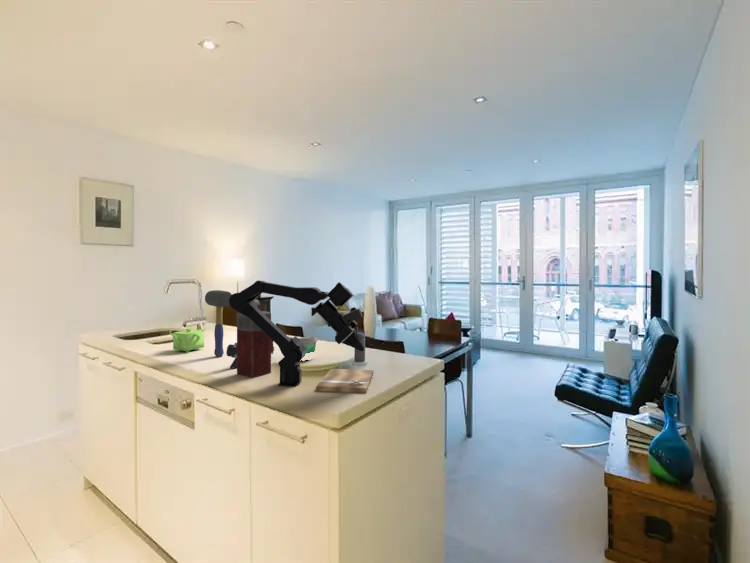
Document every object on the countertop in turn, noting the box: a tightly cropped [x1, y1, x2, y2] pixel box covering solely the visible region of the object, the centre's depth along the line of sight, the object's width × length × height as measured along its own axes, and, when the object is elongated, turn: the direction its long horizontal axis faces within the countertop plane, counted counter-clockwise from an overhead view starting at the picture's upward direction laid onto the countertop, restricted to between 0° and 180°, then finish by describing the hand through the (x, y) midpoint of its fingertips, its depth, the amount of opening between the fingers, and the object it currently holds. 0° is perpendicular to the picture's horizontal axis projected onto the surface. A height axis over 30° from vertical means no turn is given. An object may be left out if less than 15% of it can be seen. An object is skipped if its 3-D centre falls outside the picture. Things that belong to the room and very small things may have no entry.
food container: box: [290, 336, 318, 353], centre depth 170 cm, size 12×6×10 cm, turn 105°
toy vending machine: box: [236, 299, 274, 379], centre depth 148 cm, size 9×11×28 cm
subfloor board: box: [315, 368, 375, 394], centre depth 137 cm, size 16×23×2 cm
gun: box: [225, 342, 275, 369], centre depth 163 cm, size 2×25×10 cm, turn 151°
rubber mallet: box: [204, 289, 233, 358], centre depth 176 cm, size 12×8×30 cm, turn 55°
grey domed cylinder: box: [351, 332, 368, 367], centre depth 134 cm, size 5×5×11 cm
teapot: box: [169, 328, 207, 353], centre depth 189 cm, size 15×13×11 cm
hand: (363, 349), depth 133 cm, fingers closed on grey domed cylinder, 4 cm apart
